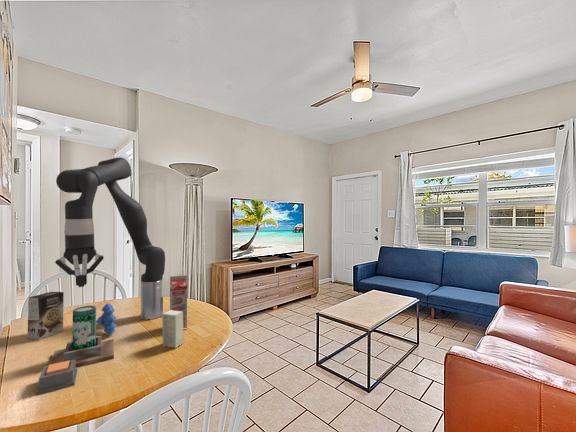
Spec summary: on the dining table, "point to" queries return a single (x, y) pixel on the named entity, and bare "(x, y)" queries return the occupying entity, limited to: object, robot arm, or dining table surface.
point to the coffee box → (45, 315)
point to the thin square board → (85, 353)
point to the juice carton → (179, 296)
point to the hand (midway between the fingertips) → (81, 286)
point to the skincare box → (172, 328)
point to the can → (84, 327)
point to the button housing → (57, 379)
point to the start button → (58, 367)
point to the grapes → (107, 319)
